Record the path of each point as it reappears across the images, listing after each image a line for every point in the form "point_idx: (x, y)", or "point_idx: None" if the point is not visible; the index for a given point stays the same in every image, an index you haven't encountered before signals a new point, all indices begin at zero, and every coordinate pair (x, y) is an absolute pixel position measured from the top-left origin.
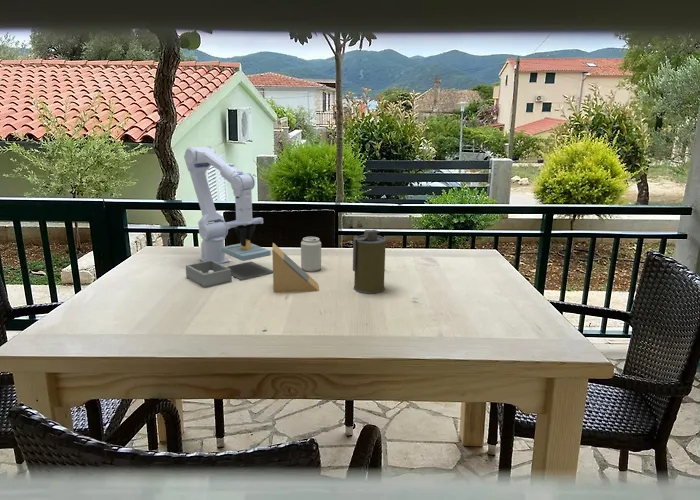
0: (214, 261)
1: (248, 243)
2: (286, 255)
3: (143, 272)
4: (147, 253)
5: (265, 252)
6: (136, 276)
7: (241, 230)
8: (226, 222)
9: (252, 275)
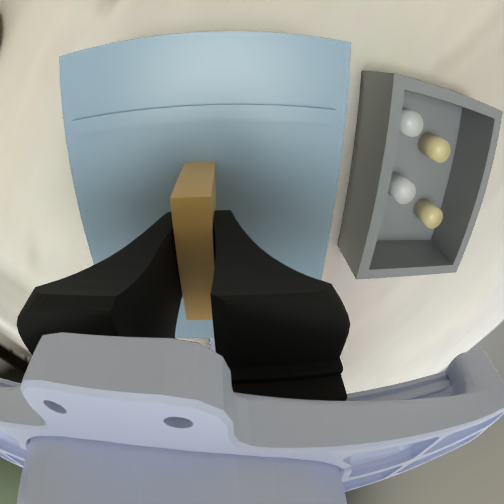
0: (364, 253)
1: (198, 184)
2: None
3: (442, 335)
4: None
5: (108, 45)
6: (468, 317)
7: (331, 287)
8: (459, 446)
9: None
